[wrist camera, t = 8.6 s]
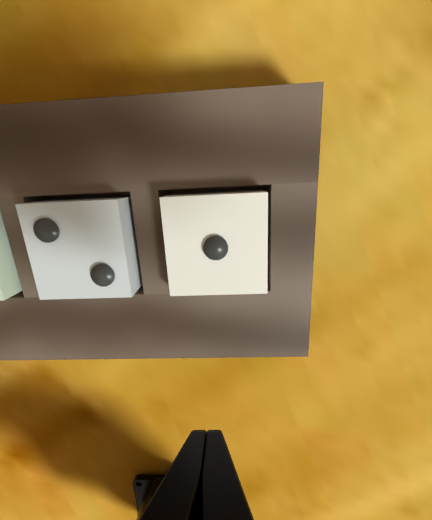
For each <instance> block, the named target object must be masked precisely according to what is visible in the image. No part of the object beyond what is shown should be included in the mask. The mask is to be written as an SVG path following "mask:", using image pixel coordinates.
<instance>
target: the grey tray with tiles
mask: <svg viewBox="0 0 432 520" xmlns="http://www.w3.org/2000/svg"><path fill="white" fill-rule="evenodd" d="M323 83H324V82H313V83H299V84H285V85H271V86H257V87H243V88H229V89H214V90H200V91H186V92H172V93H158V94H144V95H130V96H116V97H101V98H87V99H73V100H59V101H45V102H31V103H17V104H3V105H0V212H1V215H2V219H3V222H4V226H5V230H6V233H7V237H8V240H9V244H10V248H11V251H12V255H13V259H14V262H15V266H16V269H17V273H18V277H19V280H20V284H21V288H22V291H21V292H19V293H17V294H15V295H13V296H12V297H10V298H8V299H6V300H4V301H0V360H67V359H146V358H225V357H305V356H308V349H309V331H310V313H311V295H312V278H313V260H314V242H315V224H316V207H317V189H318V171H319V153H320V136H321V118H322V100H323ZM253 189H262V190H264V191H266V192H268V288H267V294H234V295H196V296H170V292H169V283H168V273H167V264H166V255H165V245H164V236H163V227H162V218H161V208H160V199H159V197H162V196H166V195H169V194H172V193H191V192H212V191H232V190H253ZM130 195H131V202H132V210H133V217H134V224H135V232H136V239H137V246H138V254H139V261H140V268H141V275H142V283H143V284H142V285H141V287H140V288H139V289H138V290H137V292H136V293H135V294H134V295H133V297H126V298H88V299H50V300H40V299H39V295H38V291H37V287H36V283H35V279H34V275H33V272H32V268H31V264H30V260H29V256H28V252H27V248H26V245H25V241H24V237H23V233H22V229H21V225H20V221H19V217H18V214H17V210H16V206H15V204H22V203H29V202H36V201H44V200H51V199H68V198H89V197H110V196H130Z"/></svg>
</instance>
